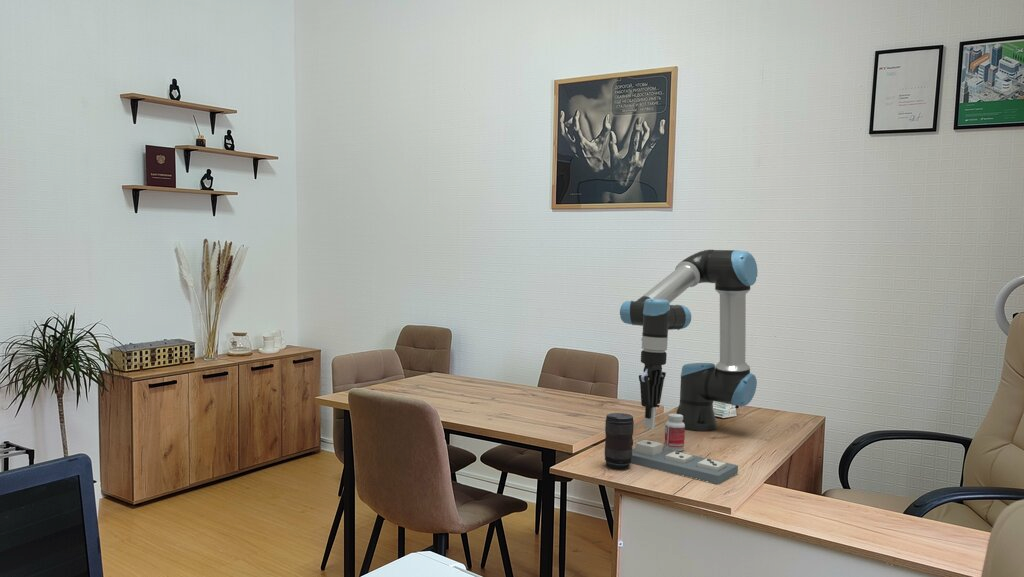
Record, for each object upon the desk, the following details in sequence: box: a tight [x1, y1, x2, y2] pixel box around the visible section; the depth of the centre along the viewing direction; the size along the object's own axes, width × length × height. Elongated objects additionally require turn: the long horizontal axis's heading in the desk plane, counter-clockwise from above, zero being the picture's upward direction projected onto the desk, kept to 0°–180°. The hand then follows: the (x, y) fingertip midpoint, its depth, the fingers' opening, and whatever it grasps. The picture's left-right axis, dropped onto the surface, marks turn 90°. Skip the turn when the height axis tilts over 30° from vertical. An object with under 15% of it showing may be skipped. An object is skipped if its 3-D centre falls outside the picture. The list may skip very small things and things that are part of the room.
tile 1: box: [634, 439, 664, 456], centre depth 218 cm, size 6×6×4 cm
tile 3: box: [697, 458, 727, 471], centre depth 206 cm, size 6×6×4 cm
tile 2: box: [665, 451, 693, 464], centre depth 212 cm, size 6×6×4 cm
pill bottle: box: [663, 413, 686, 452], centre depth 231 cm, size 6×6×11 cm
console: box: [630, 447, 739, 485], centre depth 212 cm, size 14×30×2 cm, turn 51°
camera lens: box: [604, 412, 635, 471], centre depth 210 cm, size 8×8×15 cm
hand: (649, 428), depth 218 cm, fingers closed
